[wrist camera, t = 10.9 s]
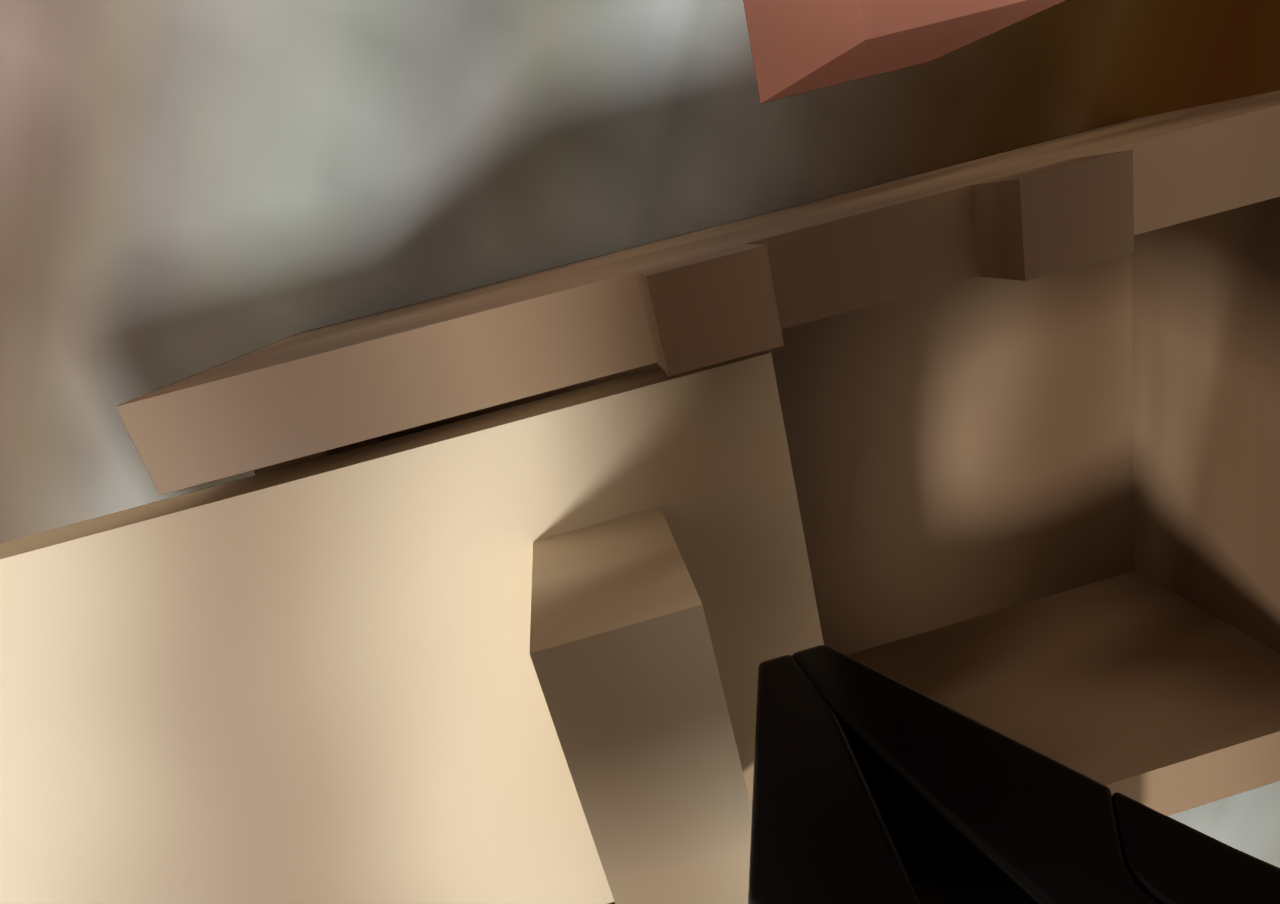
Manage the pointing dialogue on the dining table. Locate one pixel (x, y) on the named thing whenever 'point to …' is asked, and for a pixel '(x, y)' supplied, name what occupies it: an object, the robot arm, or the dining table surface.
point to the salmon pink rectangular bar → (864, 37)
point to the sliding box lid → (417, 665)
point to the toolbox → (927, 423)
